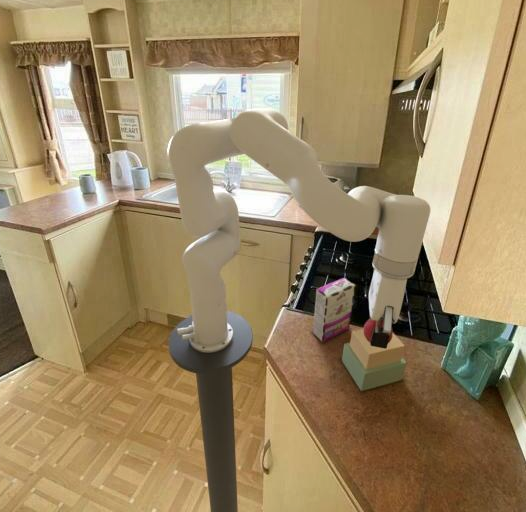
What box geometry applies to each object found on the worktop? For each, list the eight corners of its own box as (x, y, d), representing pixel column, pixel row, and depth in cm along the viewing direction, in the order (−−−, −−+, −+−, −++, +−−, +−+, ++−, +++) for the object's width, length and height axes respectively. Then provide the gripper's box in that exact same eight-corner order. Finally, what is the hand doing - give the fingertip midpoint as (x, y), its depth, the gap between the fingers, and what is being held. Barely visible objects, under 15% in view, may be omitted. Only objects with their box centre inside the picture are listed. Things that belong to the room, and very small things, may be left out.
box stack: (361, 391, 77) (368, 358, 72) (341, 360, 86) (346, 329, 81) (402, 379, 80) (411, 347, 76) (379, 351, 89) (386, 320, 84)
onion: (356, 345, 67) (362, 315, 64) (368, 331, 71) (374, 302, 68) (382, 359, 64) (389, 329, 60) (393, 344, 68) (401, 315, 64)
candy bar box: (338, 319, 101) (344, 276, 94) (349, 329, 97) (356, 284, 90) (311, 332, 95) (315, 288, 88) (322, 343, 91) (327, 297, 84)
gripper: (371, 238, 67) (358, 306, 75) (376, 283, 52) (359, 362, 59) (408, 243, 65) (391, 312, 73) (424, 291, 50) (400, 371, 58)
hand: (377, 334), depth 66 cm, fingers closed on onion, 5 cm apart
